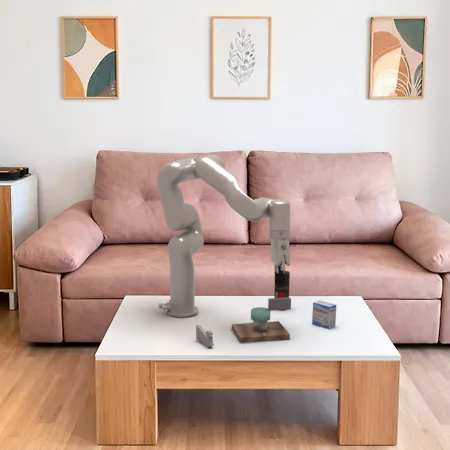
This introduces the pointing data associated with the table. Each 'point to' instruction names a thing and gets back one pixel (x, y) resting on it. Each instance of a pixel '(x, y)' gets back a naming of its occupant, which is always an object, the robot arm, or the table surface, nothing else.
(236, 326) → the base
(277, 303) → the lock handle
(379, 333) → the table surface
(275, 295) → the deodorant
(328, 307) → the medicine box
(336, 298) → the table surface
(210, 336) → the grey flat irregular piece
